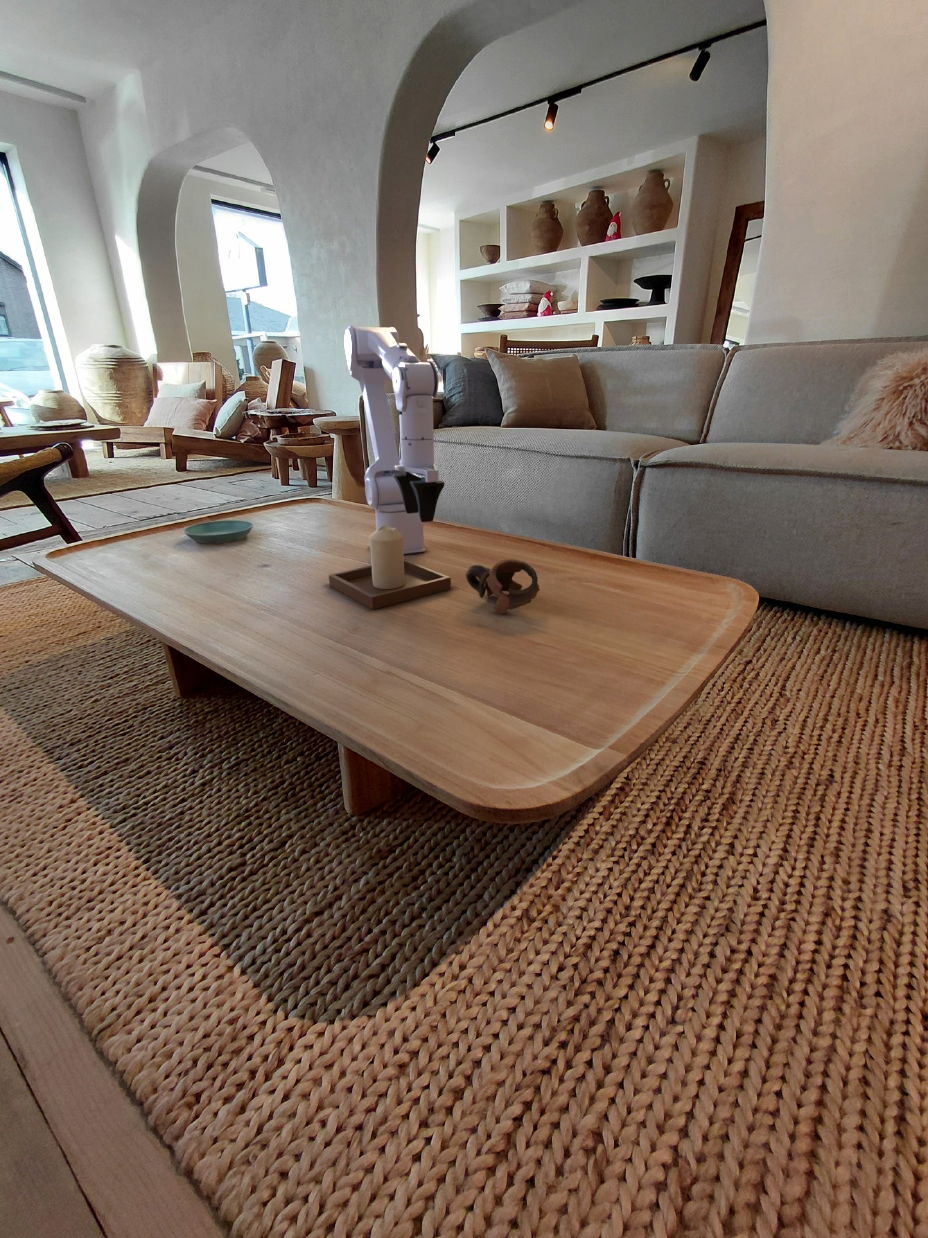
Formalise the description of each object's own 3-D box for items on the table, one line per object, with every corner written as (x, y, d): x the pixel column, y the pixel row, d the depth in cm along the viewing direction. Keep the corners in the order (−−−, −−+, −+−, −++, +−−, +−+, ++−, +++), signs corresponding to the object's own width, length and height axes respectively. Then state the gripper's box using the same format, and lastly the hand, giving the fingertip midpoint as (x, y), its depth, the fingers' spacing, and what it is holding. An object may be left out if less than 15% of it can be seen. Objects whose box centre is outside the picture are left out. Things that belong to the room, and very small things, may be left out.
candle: (373, 579, 102) (370, 524, 98) (405, 578, 103) (402, 523, 99) (371, 590, 97) (367, 531, 93) (404, 589, 97) (402, 531, 94)
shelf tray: (403, 568, 110) (403, 558, 109) (451, 588, 99) (450, 577, 99) (329, 586, 101) (328, 574, 100) (372, 609, 90) (371, 597, 90)
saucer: (268, 533, 135) (266, 521, 134) (226, 549, 122) (224, 537, 121) (216, 528, 140) (214, 517, 139) (170, 543, 127) (167, 532, 126)
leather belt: (536, 596, 97) (548, 563, 91) (523, 638, 91) (535, 606, 85) (469, 574, 98) (476, 540, 92) (452, 615, 92) (458, 581, 86)
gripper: (382, 435, 104) (386, 511, 109) (408, 443, 91) (411, 527, 97) (419, 434, 106) (421, 507, 111) (449, 441, 94) (450, 523, 99)
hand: (419, 516), depth 104 cm, fingers open, 7 cm apart
